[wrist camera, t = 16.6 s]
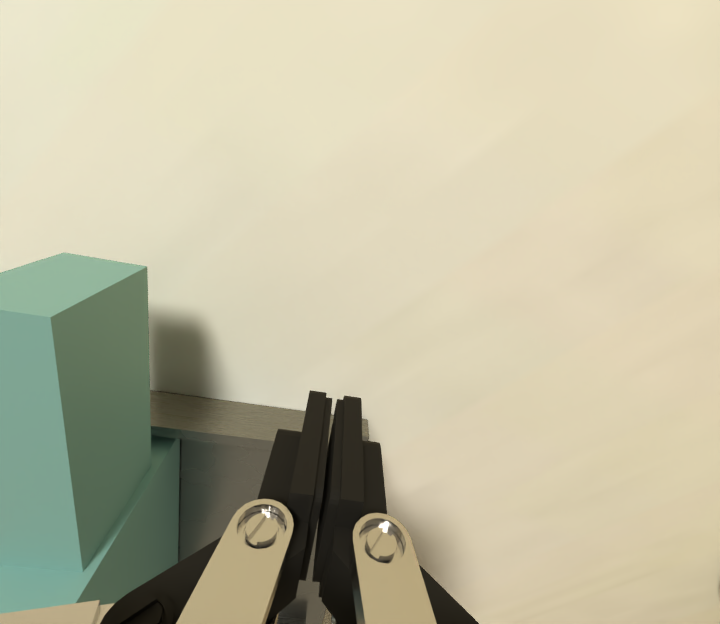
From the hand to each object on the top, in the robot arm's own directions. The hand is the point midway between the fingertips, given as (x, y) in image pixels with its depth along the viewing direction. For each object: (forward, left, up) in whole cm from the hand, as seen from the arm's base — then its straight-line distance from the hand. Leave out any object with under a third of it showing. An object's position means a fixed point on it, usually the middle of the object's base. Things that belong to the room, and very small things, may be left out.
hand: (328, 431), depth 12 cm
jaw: (+8, +6, -3) cm, 10 cm away
